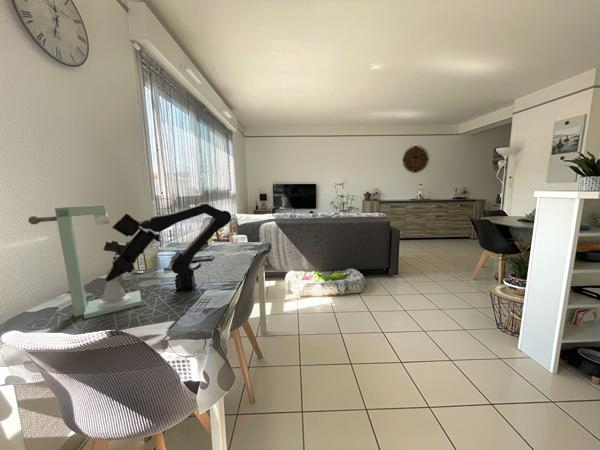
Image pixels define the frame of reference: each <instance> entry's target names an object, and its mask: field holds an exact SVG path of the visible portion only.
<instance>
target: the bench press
mask: <svg viewBox="0 0 600 450" xmlns="http://www.w3.org/2000/svg"><path fill="white" fill-rule="evenodd" d="M54 211H55V216H43V217H42V216H41V217H38V216H37V215H31V216H29V218H27V220H28V223H29V224H31V225H38V224H39V223H44V222H56V221H57V222H56V223H57V226H58V227H57V228H58V233H59V238H60V244H61V249H62V255H63V259H64V266H65V271H66V278H67V282H68V288H69V293H70V298H71V304H72V308H73V309H72V310H73V314H74V317H75V318H76V317H80V316H84V317H83V318H84V320H85V319H89V318H93V317H97V316H102V315H105V314H109V313H114V312H118V311H122V310H125V309H130V308H133V307H138V306H142V295H141V290H136V291H131V292H130V291H129V292H127V293H126V292H125V295H126V296H124V297H123V298H121V299H118V300H113V301H102V298H98V299H94V300H89V301H87V297H86V290H85V286H84V280H83V274H82V269H81V263H80V256H79V251H78V247H77V245H78V244H77V241H76V234H75V229H74V223H73V217H78V216H79V217H81V216H93V215H94V220H95V221H94V222H95V225H97V226H99V225H109V224H110V223H109V222H110V221H109V214H108V212H107V206H106V204H94V205H93V204H91V205H76V206H73V205H72V206H58V207H54Z"/></svg>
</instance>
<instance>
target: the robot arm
mask: <svg viewBox="0 0 600 450" xmlns="http://www.w3.org/2000/svg"><path fill="white" fill-rule="evenodd" d="M203 214H206V215H208V216H210V217H211V218H210V221H209V224H208V225H207V226H206V227H205V228H203V230H202V231H201V232H200V234H199V235H197V237H195V239H193V241H192V242H191V243H190V244H189V245H188V246H187V247H186V249H184V250H182V251H179V250H177V251H176V252H175V254H174V255H173V256H171V257H170V258H171V260H170V261H169V268H170V269H171V271H172V272H173V274H175V279H174V283H175V284H174V285H175V292H177V293H178V292H191V291H193V290H194V289H195V288H196V287H197V286H198V285H197V283H196V282H195V281H196V280H195V270H193V268H192V267H191V263H192V261H193V259H194V257H195V255H197V254H198V252H199V251H200V250H201V249H202V248H203V247H204V246H205V245H206V244H207V242H208V241H209V240H210V239H211V238H212V237H213V236H214V235H215V234H216V232H218V231H219V230H222V228H224V227H225V226H227V225H228V224H229V223H230V222H231V220H232V214H231V213H230V212H229V211H227V210H223V209H218V208H216V207H214V206H211V205H210V204H208V203H205V202H204V203H200V204H198V205H195V206H192V207H188V208H186V209H183V210H179V211H176V212H173V213H168V214H167V213H166V214H159V215H154V216H151V217H150V218H149V219H147V220H142V221H138V220H137V219H135V218H134V217H132V216H131V215H130V214H128V213H125V214H124V215H123V216H122V217H121V218H120V219H118V220H117V222H115V223H114V224H113V225H112V227H111V228H112V229H114V230H115V231H117V232H118V233H120V234H121V235H123V236H125V237H126V238H127V237H132V238H131V240H129V241H126V243H124V242H121V241H120V242H119V241H117V240H111V239H106V242H105V244H104V247H103V251H105V252H113V253H114V255H115V256H113V260H112V262H111V263H112V266H111V268H110V270H111V271H110V270H109V271H110V273H109V275H108V276H107V275H106V276H105V281H106V282H107V281H110V280H112V279H114V278H118V277H120V276H121V275H124V274H126V273H129V274H131V273H132V272H133V271H134V269H135V263H136V262H137V259H138V258H139V257H140V256H141V254H142V255H143V253H144V252H145V250H146V249H147V248H148V247H149V245H150V244H151V243H152V242H153V241H154V240H155V241H156V242H161V239H160V235H161V234H159V233H160V232H161V233H162V232H163V231H165V230H167V229H168V228H170V227H172V226H173V225H175V224H177V223H179V222H183V221H187V220H188V219H191V218H195V217H198V216H200V215H203ZM154 232H155V233H154Z"/></svg>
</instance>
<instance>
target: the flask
mask: <svg viewBox="0 0 600 450" xmlns="http://www.w3.org/2000/svg"><path fill="white" fill-rule="evenodd" d="M110 271H111V269H110V270H107V271H105V275H106V276H108V275H109V273H110ZM125 294H126V292H125V291H124V289H123V287H122V286H121V284H120V281H119V280H118V277H116V278H114V279H112V280H110V281H106V284H105V287H104V292H103V295H102V298H101V299H102V301H113V300H118V299H121V298H123V297H124V296H126V295H125Z"/></svg>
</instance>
